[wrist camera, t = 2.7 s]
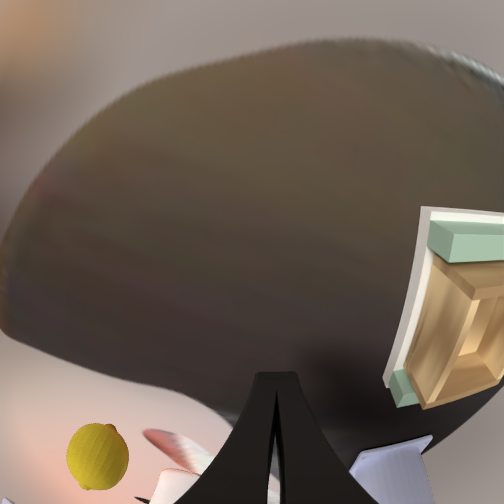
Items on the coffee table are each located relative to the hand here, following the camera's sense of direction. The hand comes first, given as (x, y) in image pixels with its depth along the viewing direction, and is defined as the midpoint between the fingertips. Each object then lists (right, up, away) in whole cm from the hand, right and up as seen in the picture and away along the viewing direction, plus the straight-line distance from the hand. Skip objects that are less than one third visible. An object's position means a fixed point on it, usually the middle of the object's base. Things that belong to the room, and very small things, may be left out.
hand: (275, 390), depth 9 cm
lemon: (-14, -11, +11) cm, 21 cm away
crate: (+11, +2, +3) cm, 11 cm away
